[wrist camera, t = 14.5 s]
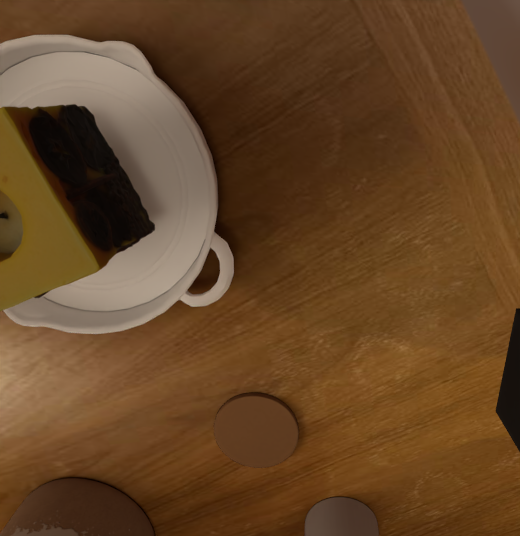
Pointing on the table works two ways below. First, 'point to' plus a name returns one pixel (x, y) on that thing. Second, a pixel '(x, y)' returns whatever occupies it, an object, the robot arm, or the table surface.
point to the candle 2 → (340, 519)
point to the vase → (78, 512)
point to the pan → (139, 172)
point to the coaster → (256, 430)
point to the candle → (60, 201)
